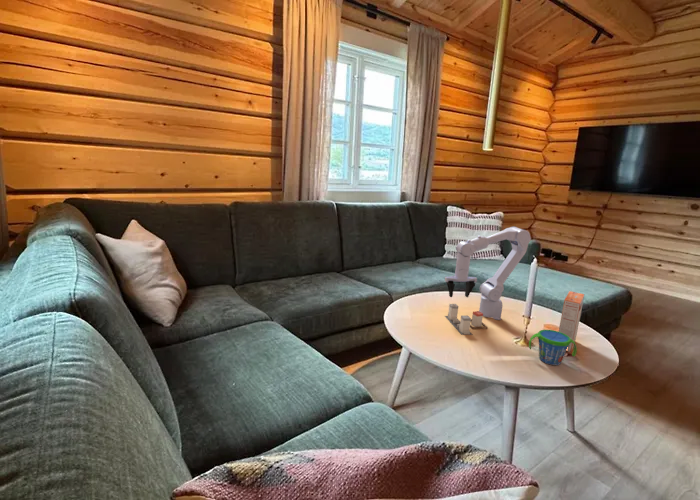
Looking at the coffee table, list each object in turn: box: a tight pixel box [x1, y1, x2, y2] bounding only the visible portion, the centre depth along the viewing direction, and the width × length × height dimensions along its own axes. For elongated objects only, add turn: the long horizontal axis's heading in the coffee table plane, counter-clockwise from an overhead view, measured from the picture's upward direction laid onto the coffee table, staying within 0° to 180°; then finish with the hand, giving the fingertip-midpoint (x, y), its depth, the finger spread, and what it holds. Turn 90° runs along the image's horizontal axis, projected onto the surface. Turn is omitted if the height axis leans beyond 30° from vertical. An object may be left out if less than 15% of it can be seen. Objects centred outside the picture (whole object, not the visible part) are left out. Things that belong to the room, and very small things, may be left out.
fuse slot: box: [459, 315, 472, 333], centre depth 158 cm, size 3×3×6 cm
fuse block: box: [444, 315, 473, 336], centre depth 165 cm, size 5×19×2 cm, turn 7°
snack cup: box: [528, 329, 578, 366], centre depth 140 cm, size 16×10×10 cm
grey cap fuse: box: [447, 303, 459, 320], centre depth 170 cm, size 3×3×6 cm
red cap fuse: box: [470, 310, 484, 327], centre depth 165 cm, size 3×3×6 cm
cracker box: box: [558, 290, 585, 354], centre depth 152 cm, size 14×6×21 cm, turn 144°
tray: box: [470, 318, 488, 330], centre depth 166 cm, size 7×8×2 cm
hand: (458, 296), depth 174 cm, fingers open, 7 cm apart
